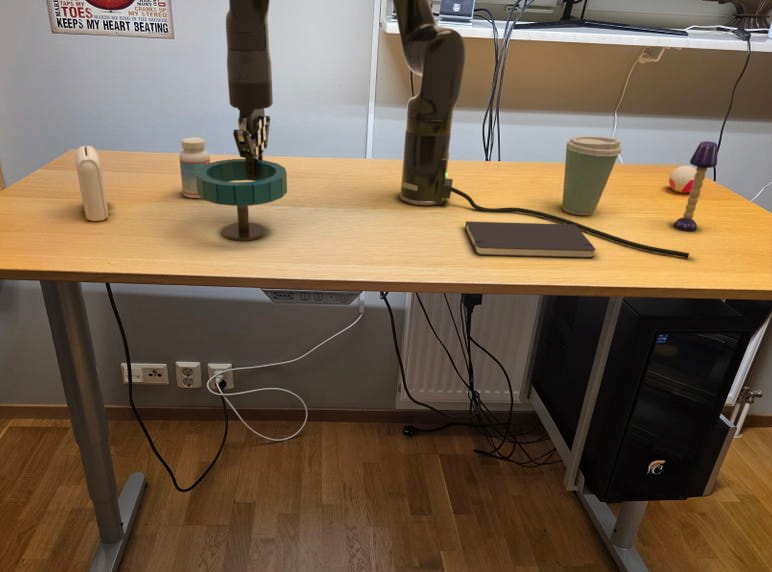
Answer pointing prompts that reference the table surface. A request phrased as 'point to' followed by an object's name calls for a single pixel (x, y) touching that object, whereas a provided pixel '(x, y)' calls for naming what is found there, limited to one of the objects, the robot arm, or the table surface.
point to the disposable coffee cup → (587, 172)
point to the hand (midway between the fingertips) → (255, 176)
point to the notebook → (528, 239)
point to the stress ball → (682, 179)
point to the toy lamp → (697, 182)
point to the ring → (240, 183)
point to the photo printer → (91, 183)
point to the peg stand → (243, 227)
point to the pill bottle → (192, 164)
